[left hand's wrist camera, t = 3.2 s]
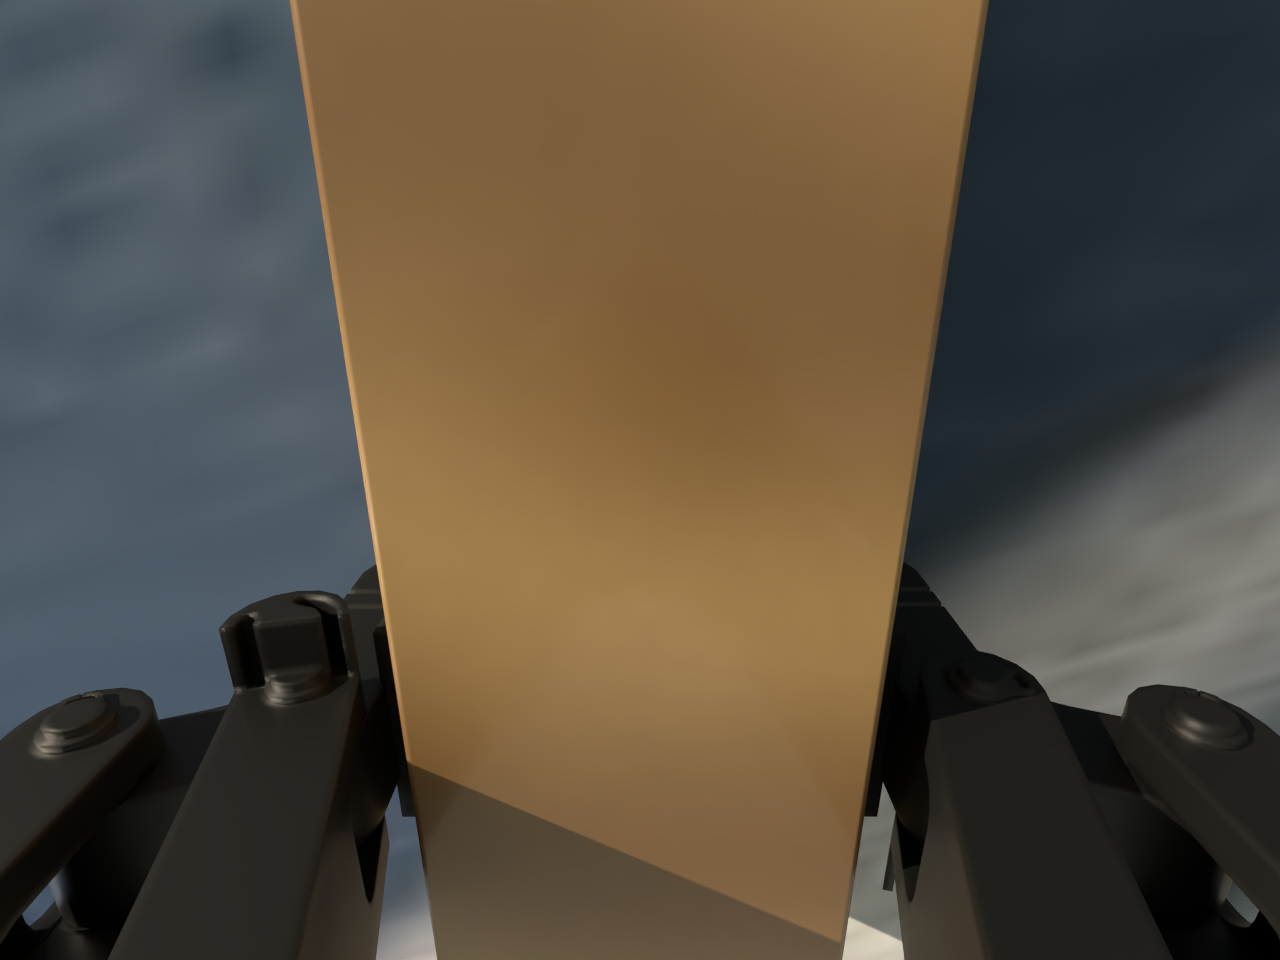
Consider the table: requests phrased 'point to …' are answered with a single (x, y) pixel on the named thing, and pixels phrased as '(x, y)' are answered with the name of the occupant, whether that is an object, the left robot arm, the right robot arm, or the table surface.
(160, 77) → the table surface
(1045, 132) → the table surface
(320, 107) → the beam
